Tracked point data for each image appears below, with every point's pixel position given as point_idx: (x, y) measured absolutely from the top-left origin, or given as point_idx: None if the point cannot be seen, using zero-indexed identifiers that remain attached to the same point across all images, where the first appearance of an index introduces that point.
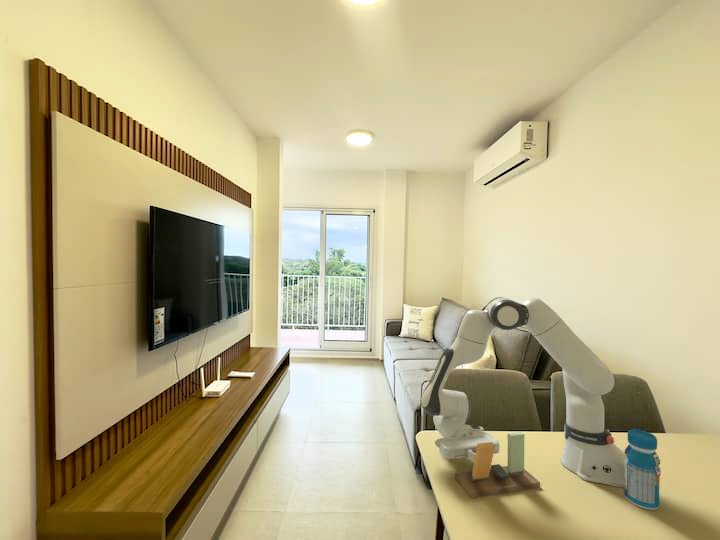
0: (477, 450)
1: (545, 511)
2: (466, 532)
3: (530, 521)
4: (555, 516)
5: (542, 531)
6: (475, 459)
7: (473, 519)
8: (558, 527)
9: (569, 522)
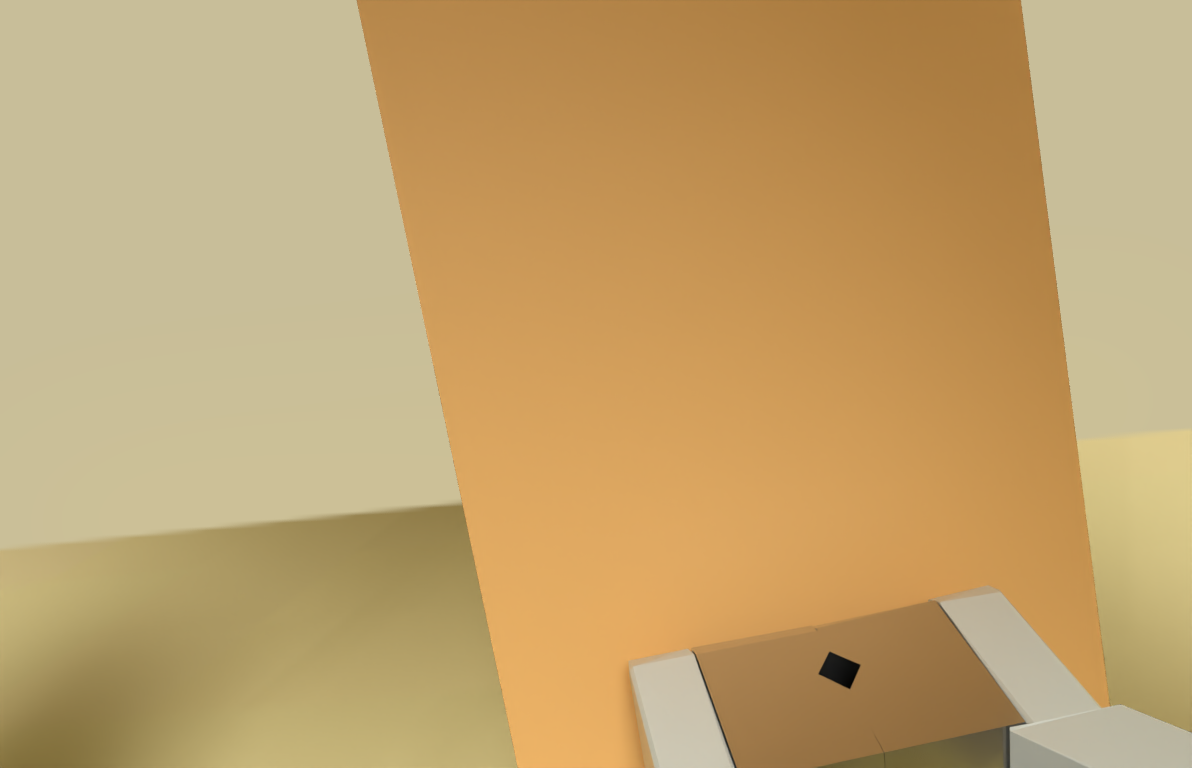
0: (997, 75)
1: (114, 719)
2: (1186, 435)
3: (428, 591)
4: (82, 668)
5: (404, 520)
6: (1060, 502)
7: (1109, 548)
8: (208, 566)
9: (30, 620)
